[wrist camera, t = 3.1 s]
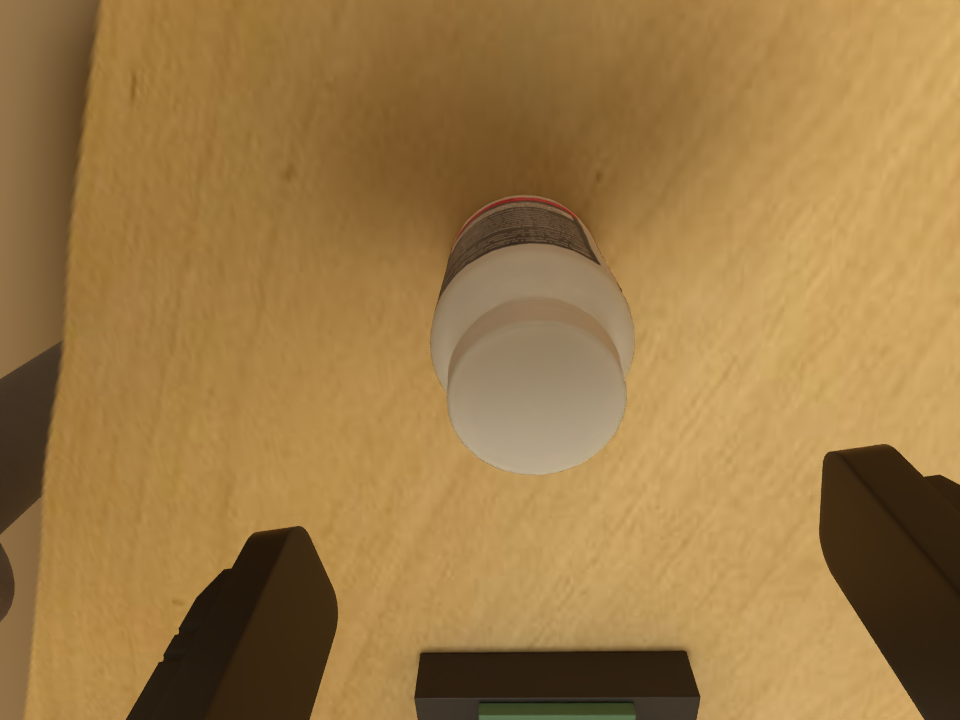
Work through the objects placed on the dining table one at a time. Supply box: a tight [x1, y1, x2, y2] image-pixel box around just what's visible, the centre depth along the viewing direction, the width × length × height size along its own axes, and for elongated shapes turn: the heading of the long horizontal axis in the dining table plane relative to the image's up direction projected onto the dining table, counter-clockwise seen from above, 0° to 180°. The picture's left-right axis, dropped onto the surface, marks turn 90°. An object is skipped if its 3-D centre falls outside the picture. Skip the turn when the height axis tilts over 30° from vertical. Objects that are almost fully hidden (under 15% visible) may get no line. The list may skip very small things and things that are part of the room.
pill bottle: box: [430, 195, 635, 475], centre depth 17 cm, size 5×5×10 cm
